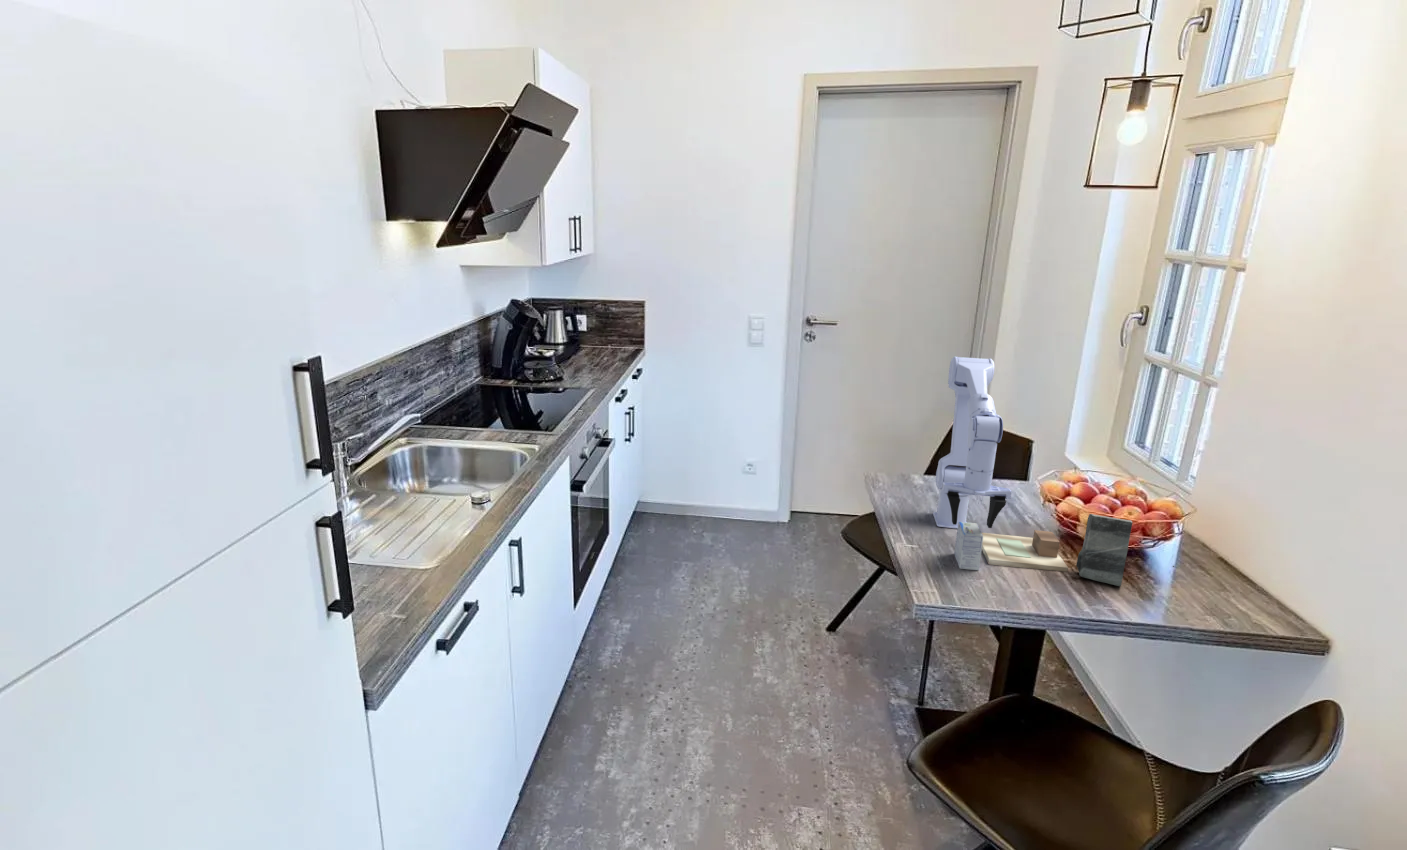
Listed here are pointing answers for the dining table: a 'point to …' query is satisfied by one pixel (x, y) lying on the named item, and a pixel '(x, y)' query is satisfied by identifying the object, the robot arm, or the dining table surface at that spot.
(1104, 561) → the stone block
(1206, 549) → the dining table surface
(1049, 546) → the walnut block
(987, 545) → the base board
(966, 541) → the medicine box
